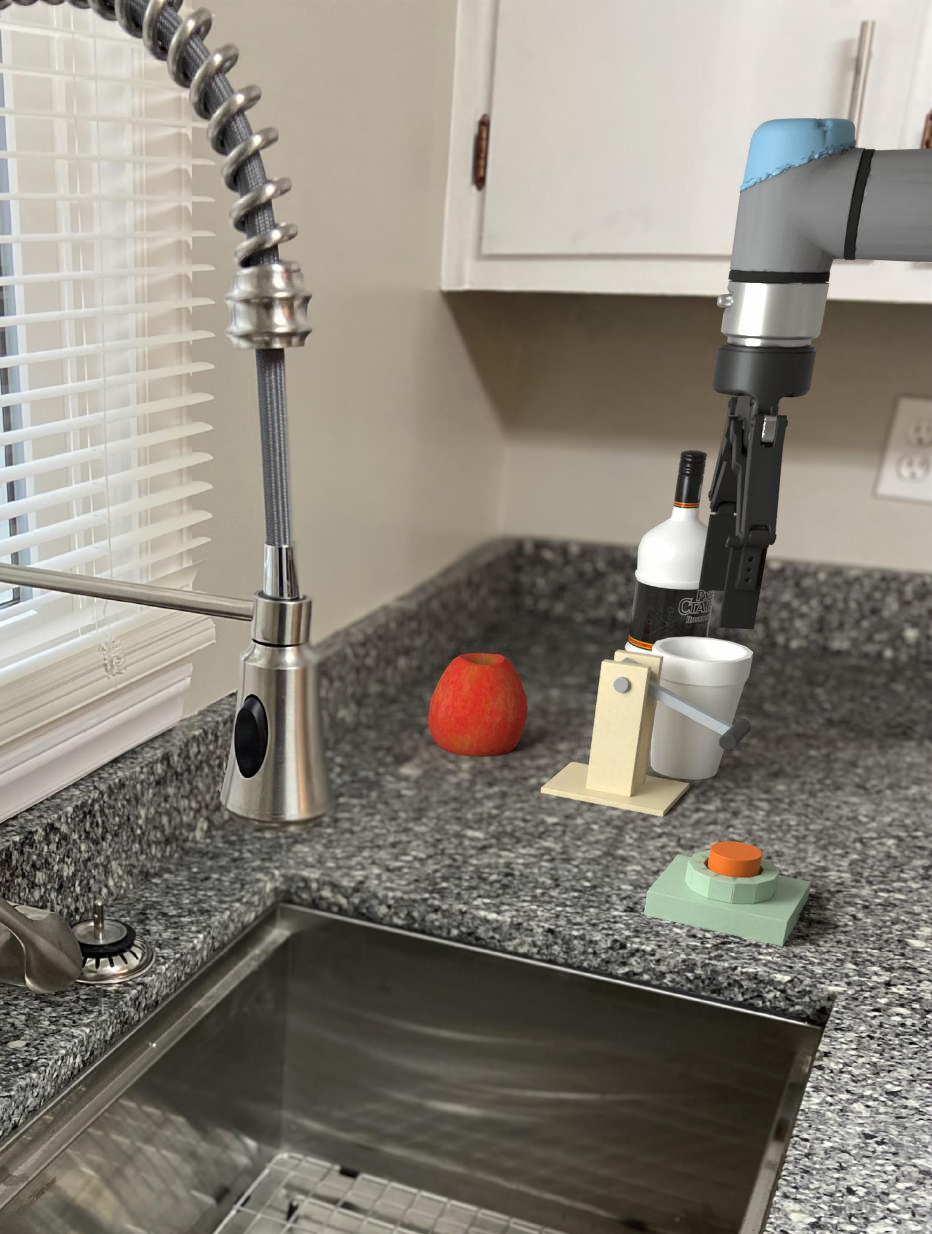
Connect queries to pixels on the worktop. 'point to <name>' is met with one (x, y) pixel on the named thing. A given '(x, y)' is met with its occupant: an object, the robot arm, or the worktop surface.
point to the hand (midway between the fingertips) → (724, 608)
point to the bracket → (621, 743)
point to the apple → (478, 706)
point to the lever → (700, 714)
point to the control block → (728, 899)
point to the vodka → (673, 568)
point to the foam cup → (696, 702)
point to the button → (734, 859)
